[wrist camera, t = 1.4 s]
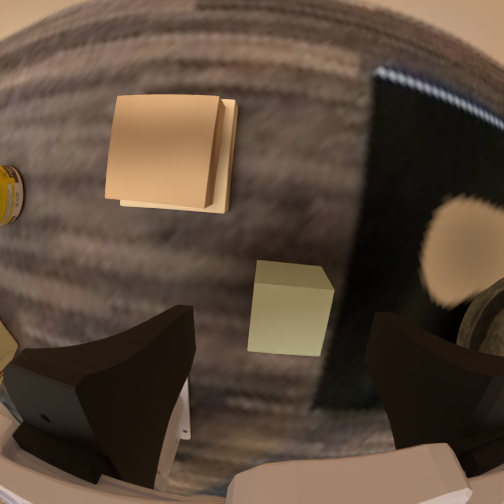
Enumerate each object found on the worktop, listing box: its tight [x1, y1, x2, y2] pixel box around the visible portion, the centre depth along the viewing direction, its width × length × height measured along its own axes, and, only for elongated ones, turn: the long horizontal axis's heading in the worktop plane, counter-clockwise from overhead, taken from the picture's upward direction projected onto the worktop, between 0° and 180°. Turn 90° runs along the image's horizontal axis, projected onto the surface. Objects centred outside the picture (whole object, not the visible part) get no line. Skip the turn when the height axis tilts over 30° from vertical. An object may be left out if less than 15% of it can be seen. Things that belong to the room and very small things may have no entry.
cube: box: [247, 260, 334, 356], centre depth 19 cm, size 4×4×4 cm
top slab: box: [105, 95, 226, 209], centre depth 16 cm, size 6×6×2 cm
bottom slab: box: [120, 99, 238, 214], centre depth 18 cm, size 7×7×2 cm
